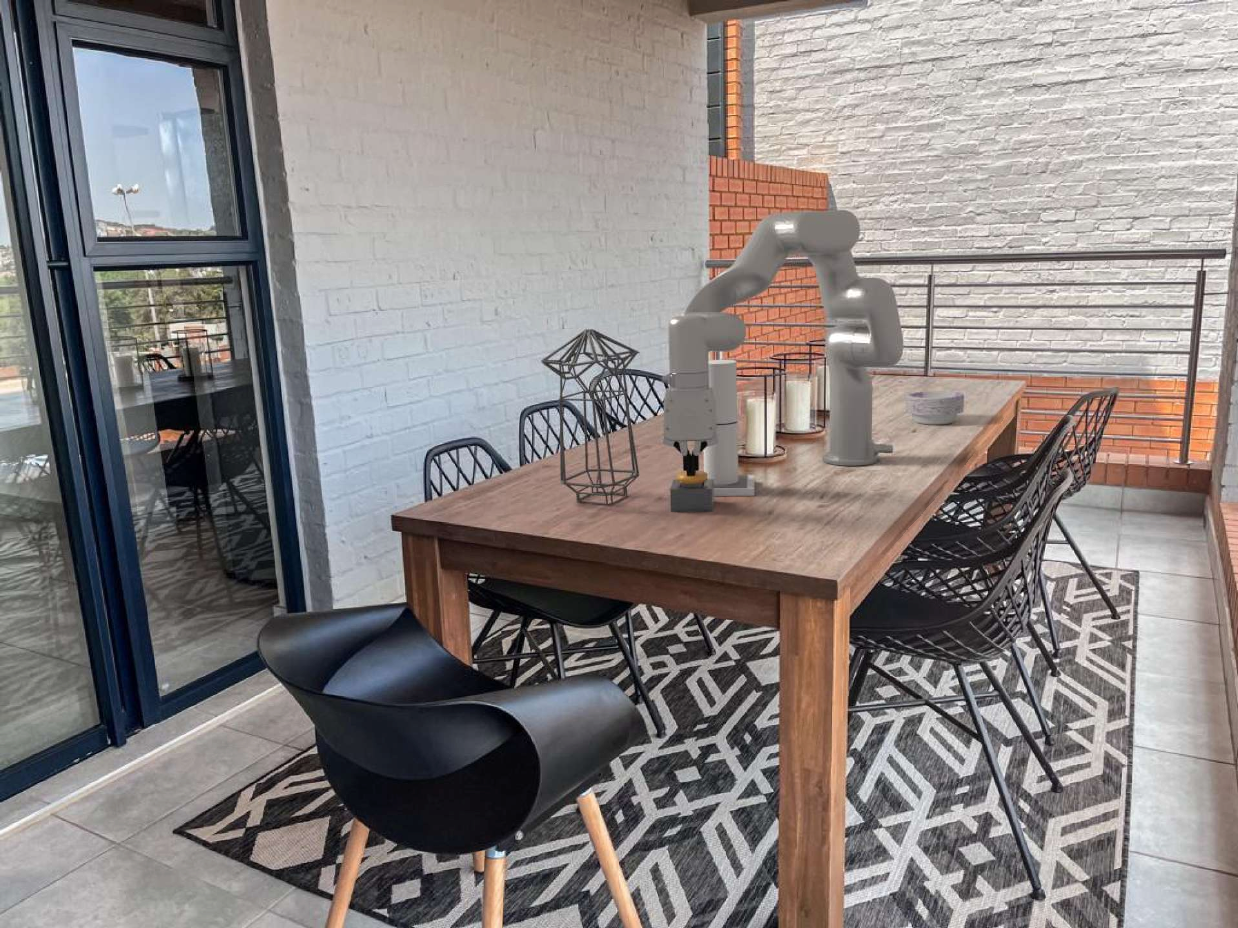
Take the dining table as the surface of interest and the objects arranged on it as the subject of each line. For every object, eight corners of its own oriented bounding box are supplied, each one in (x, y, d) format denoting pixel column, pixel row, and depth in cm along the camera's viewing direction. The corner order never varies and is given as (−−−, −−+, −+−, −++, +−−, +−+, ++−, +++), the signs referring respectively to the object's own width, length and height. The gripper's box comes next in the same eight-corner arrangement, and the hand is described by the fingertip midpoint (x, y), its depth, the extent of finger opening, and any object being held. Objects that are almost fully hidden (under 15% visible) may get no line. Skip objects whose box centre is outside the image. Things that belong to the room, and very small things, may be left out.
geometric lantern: (613, 512, 188) (600, 332, 180) (548, 506, 196) (532, 334, 189) (653, 493, 201) (642, 324, 193) (590, 487, 209) (578, 326, 202)
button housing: (714, 500, 193) (713, 479, 192) (712, 511, 186) (711, 488, 185) (674, 501, 194) (673, 479, 193) (670, 511, 187) (670, 489, 186)
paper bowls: (907, 417, 276) (908, 389, 274) (964, 418, 270) (965, 390, 269) (902, 426, 262) (903, 397, 260) (962, 428, 257) (963, 398, 255)
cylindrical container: (736, 484, 198) (734, 363, 193) (702, 484, 200) (699, 364, 194) (739, 476, 205) (737, 359, 200) (706, 476, 207) (703, 360, 201)
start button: (708, 496, 192) (708, 470, 191) (707, 503, 186) (706, 477, 185) (678, 496, 193) (677, 471, 192) (676, 504, 187) (675, 478, 186)
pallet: (754, 481, 208) (754, 474, 207) (754, 495, 196) (754, 487, 196) (689, 482, 210) (689, 474, 209) (685, 496, 198) (685, 488, 198)
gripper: (648, 384, 182) (651, 479, 186) (728, 383, 180) (729, 478, 184) (652, 379, 189) (655, 470, 193) (729, 377, 187) (730, 470, 191)
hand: (691, 474), depth 188 cm, fingers closed
